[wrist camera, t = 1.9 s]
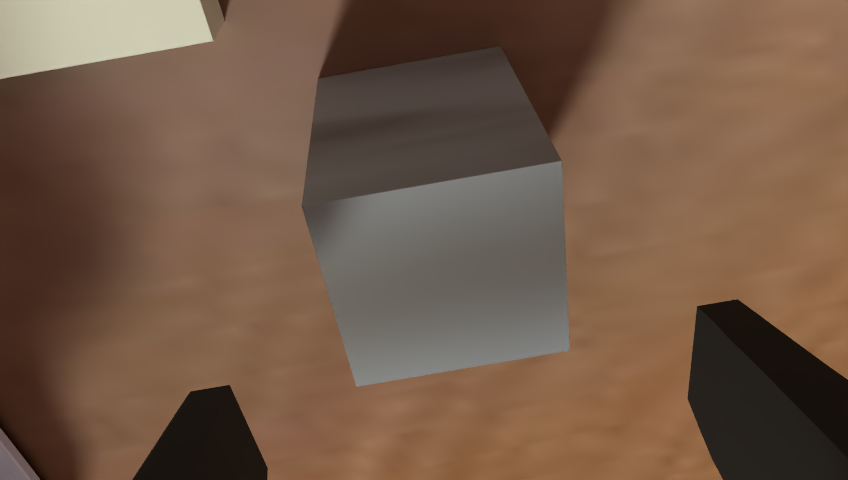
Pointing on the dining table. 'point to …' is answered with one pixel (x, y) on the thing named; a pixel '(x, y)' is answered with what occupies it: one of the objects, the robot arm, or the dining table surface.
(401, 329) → the slate block
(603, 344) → the dining table surface
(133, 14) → the cream square slab
